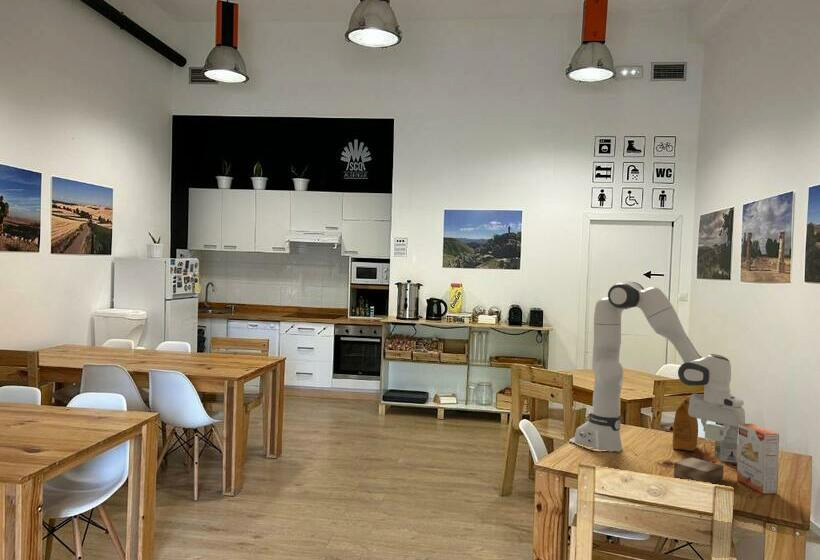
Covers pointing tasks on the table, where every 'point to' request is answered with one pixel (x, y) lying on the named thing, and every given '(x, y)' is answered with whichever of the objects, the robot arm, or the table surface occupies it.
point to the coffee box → (727, 445)
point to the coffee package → (685, 428)
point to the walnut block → (698, 470)
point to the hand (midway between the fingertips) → (714, 433)
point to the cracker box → (758, 458)
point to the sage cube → (714, 432)
